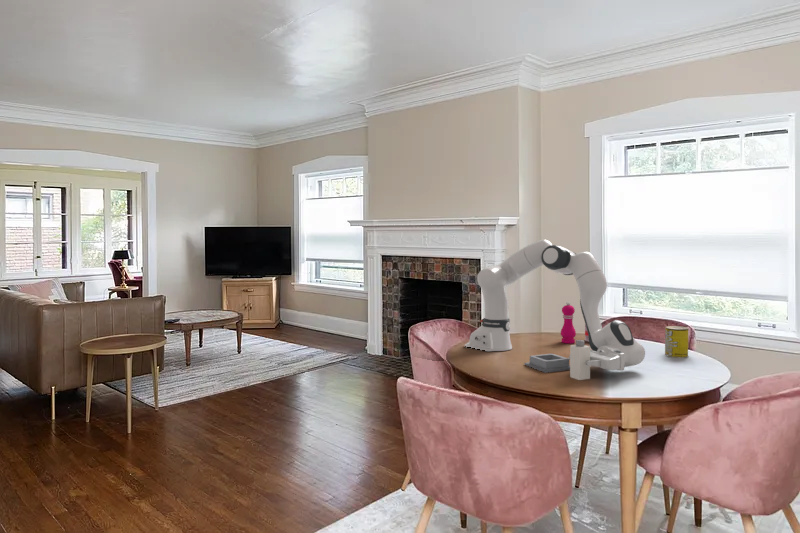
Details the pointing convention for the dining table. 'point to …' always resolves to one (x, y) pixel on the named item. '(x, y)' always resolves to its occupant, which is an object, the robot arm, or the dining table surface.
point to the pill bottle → (586, 334)
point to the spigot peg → (579, 361)
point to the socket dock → (548, 363)
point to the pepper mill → (568, 324)
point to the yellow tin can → (676, 341)
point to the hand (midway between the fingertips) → (578, 360)
